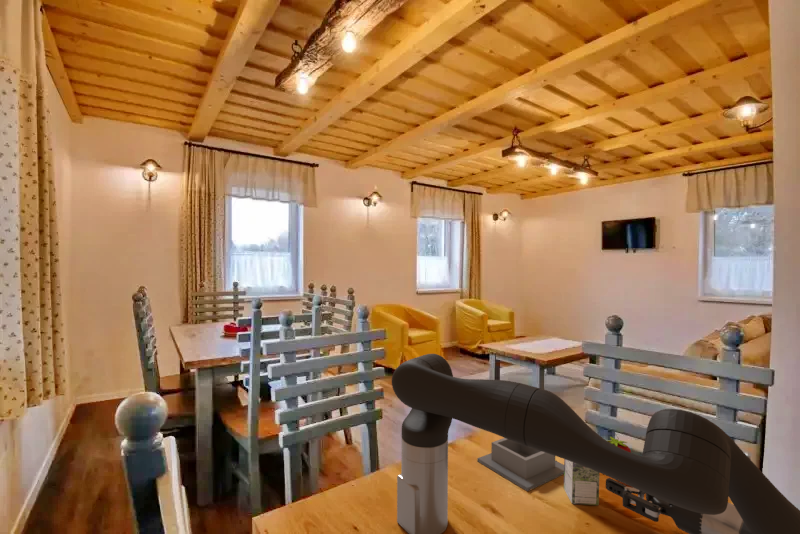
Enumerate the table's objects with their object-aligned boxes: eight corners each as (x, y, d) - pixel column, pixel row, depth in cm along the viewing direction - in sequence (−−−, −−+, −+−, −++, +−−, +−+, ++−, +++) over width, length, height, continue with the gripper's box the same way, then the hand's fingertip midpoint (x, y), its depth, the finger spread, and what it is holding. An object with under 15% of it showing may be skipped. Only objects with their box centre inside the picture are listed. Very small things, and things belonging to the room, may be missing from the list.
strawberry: (593, 469, 100) (593, 429, 100) (619, 466, 102) (620, 427, 101) (610, 482, 94) (610, 440, 94) (637, 479, 96) (638, 437, 96)
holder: (527, 491, 91) (527, 468, 91) (477, 461, 104) (477, 441, 104) (570, 471, 99) (570, 449, 99) (519, 445, 113) (519, 427, 113)
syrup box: (589, 490, 91) (590, 427, 91) (599, 507, 85) (600, 439, 85) (563, 489, 92) (564, 426, 91) (571, 505, 86) (572, 438, 85)
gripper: (693, 558, 65) (598, 506, 78) (729, 526, 72) (636, 483, 86) (694, 513, 65) (598, 468, 78) (729, 485, 72) (636, 449, 86)
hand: (618, 476), depth 82 cm, fingers open, 8 cm apart
